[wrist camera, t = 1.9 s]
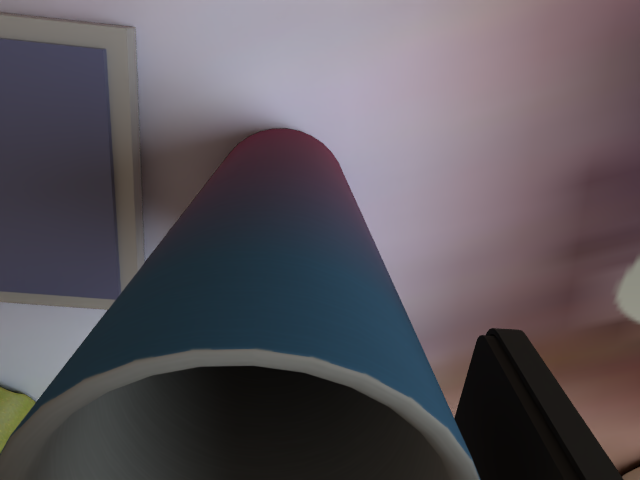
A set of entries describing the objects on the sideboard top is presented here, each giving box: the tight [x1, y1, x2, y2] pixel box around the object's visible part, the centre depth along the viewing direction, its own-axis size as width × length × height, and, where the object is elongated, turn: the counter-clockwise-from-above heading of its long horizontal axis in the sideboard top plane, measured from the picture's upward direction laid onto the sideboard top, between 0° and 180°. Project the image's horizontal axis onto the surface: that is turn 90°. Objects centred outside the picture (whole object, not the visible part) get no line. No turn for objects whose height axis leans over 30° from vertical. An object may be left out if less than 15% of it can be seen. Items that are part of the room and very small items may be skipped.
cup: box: [0, 129, 481, 480], centre depth 14 cm, size 7×7×15 cm
